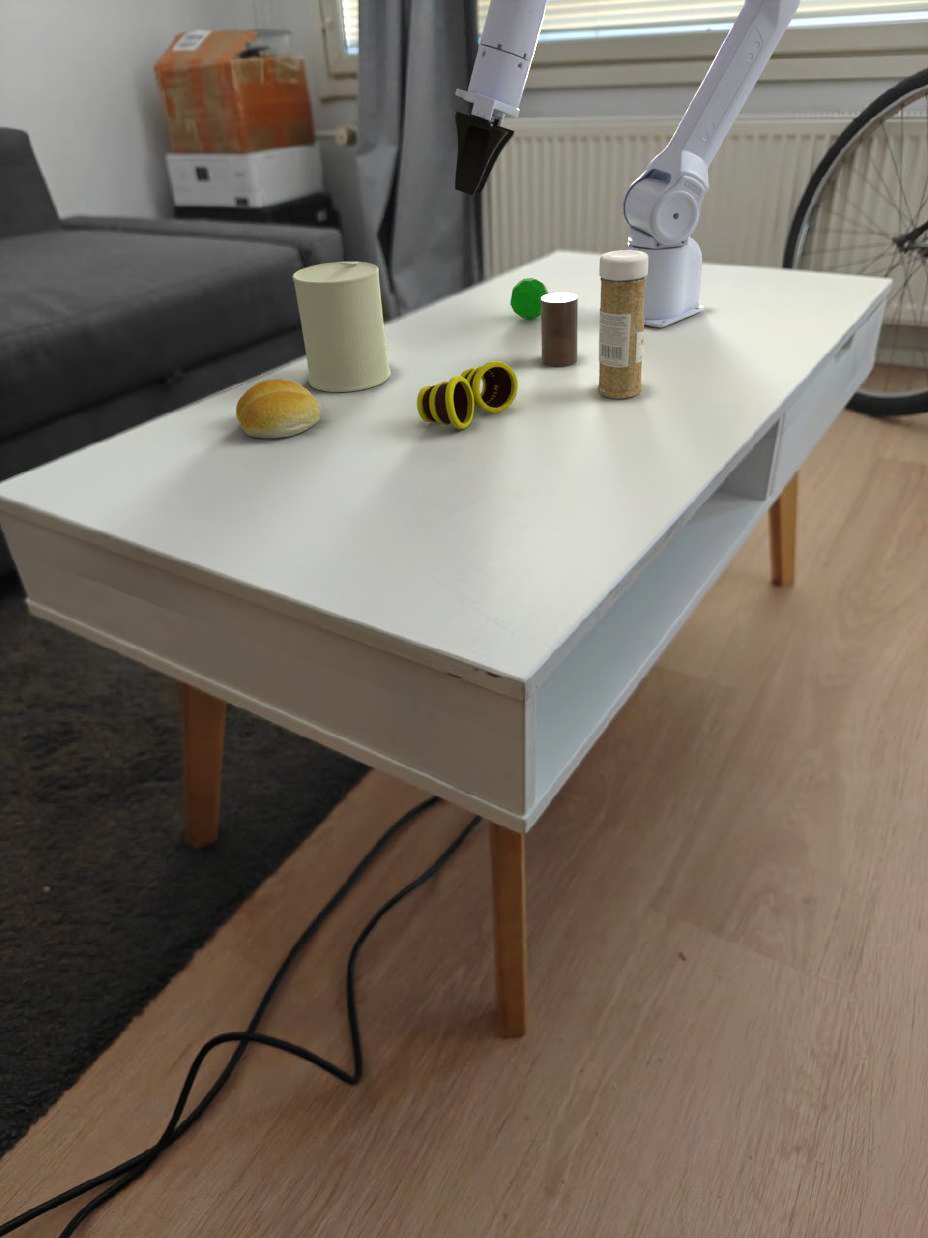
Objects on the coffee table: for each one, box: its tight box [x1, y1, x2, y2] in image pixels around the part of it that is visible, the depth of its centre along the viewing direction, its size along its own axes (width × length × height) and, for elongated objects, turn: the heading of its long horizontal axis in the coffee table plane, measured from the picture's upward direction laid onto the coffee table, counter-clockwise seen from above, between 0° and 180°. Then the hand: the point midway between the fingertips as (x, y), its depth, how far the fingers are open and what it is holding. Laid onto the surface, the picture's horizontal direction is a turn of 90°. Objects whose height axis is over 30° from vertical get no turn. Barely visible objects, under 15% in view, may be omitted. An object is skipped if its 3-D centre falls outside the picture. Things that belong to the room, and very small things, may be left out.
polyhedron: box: [509, 277, 550, 321], centre depth 114 cm, size 5×5×5 cm
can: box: [292, 261, 392, 393], centre depth 97 cm, size 9×9×12 cm
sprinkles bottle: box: [597, 249, 648, 400], centre depth 88 cm, size 5×5×13 cm
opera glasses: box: [416, 360, 519, 430], centre depth 87 cm, size 10×5×5 cm, turn 136°
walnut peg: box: [540, 292, 579, 368], centre depth 99 cm, size 4×4×7 cm
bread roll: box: [235, 378, 322, 439], centre depth 89 cm, size 8×9×4 cm
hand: (468, 191), depth 100 cm, fingers open, 7 cm apart
